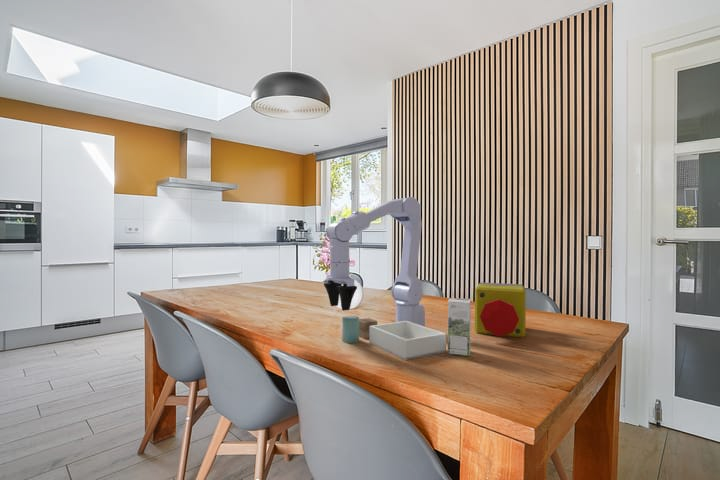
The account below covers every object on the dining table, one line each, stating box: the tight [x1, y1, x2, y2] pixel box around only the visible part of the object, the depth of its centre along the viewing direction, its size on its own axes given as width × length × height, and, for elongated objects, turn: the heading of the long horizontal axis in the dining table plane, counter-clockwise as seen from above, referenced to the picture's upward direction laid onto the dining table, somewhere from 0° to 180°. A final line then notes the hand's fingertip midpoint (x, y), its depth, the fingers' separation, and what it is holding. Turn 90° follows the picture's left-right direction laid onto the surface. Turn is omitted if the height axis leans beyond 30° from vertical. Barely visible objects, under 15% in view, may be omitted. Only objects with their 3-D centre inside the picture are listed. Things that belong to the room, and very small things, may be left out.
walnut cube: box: [359, 317, 378, 340], centre depth 116 cm, size 5×5×5 cm
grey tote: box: [368, 321, 447, 361], centre depth 104 cm, size 14×18×5 cm
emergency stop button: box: [474, 281, 527, 338], centre depth 119 cm, size 15×24×15 cm, turn 158°
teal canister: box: [341, 315, 360, 344], centre depth 110 cm, size 5×5×7 cm
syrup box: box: [447, 297, 472, 357], centre depth 99 cm, size 6×6×14 cm
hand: (339, 307), depth 109 cm, fingers open, 7 cm apart
